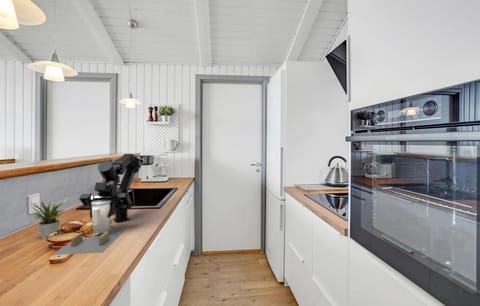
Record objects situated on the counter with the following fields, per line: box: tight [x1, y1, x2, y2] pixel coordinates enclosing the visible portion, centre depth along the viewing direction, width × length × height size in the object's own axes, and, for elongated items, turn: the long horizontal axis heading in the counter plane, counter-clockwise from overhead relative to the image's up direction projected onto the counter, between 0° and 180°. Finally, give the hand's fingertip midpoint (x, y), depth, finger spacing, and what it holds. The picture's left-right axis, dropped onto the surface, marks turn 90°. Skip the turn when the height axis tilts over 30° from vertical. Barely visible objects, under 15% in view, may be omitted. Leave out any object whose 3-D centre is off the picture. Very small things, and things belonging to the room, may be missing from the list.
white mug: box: [91, 200, 112, 233], centre depth 100 cm, size 9×7×12 cm
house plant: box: [27, 197, 68, 240], centre depth 99 cm, size 14×14×16 cm
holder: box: [51, 228, 127, 256], centre depth 94 cm, size 24×16×4 cm, turn 7°
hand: (99, 217), depth 99 cm, fingers closed on white mug, 6 cm apart
